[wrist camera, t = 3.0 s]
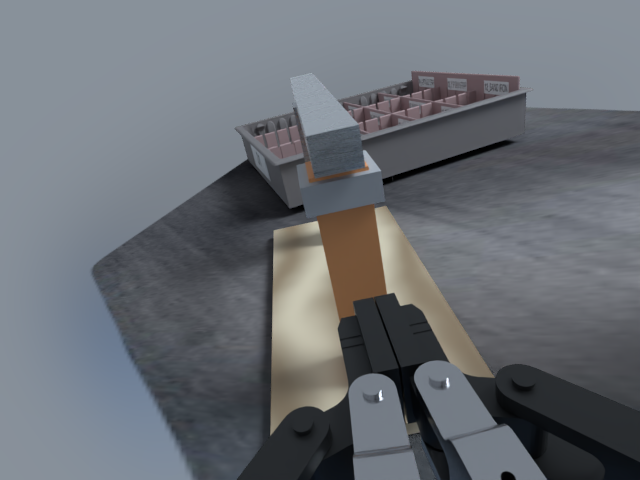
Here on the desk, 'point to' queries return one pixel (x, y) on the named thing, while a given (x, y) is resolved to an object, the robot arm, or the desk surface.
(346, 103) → the organizer tray
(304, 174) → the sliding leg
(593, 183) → the desk surface
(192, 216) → the desk surface
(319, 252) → the board
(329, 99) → the bar
